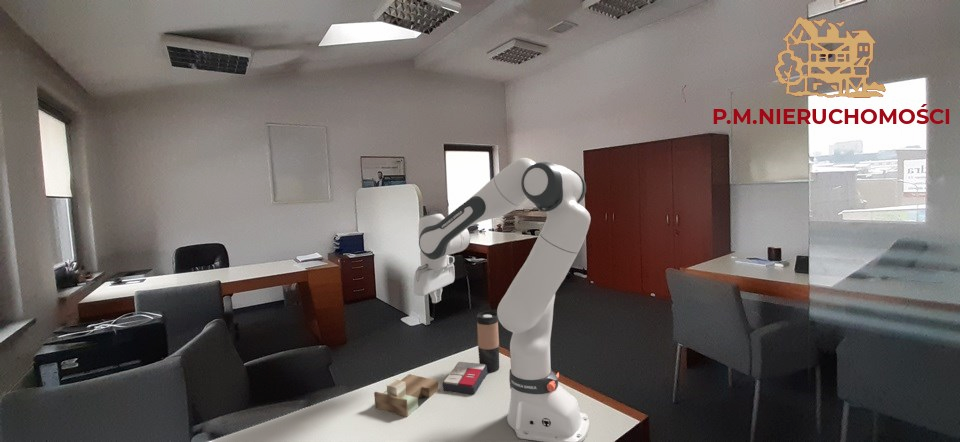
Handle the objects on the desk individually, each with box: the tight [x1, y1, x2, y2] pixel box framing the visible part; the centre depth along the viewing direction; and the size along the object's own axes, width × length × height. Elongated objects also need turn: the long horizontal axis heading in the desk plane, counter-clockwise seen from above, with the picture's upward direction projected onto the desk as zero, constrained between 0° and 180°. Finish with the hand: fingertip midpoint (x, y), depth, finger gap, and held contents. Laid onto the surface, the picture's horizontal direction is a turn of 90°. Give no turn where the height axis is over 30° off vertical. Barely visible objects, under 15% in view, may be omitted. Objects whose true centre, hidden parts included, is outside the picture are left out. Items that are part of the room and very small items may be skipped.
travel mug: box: [476, 311, 500, 374], centre depth 142 cm, size 8×8×20 cm
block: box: [386, 379, 406, 398], centre depth 120 cm, size 4×4×4 cm
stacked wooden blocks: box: [373, 374, 440, 418], centre depth 124 cm, size 12×17×5 cm
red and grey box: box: [442, 361, 488, 396], centre depth 133 cm, size 11×4×15 cm
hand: (436, 301), depth 132 cm, fingers closed
